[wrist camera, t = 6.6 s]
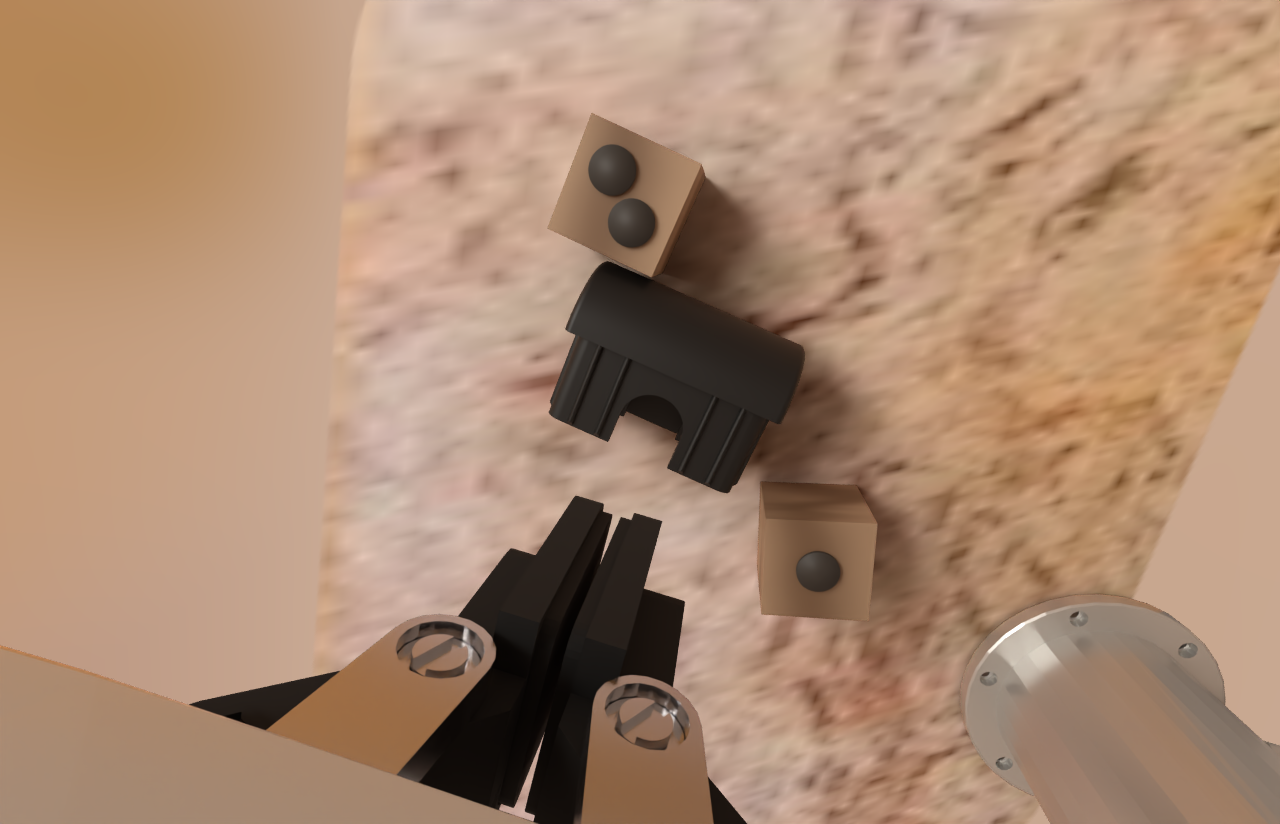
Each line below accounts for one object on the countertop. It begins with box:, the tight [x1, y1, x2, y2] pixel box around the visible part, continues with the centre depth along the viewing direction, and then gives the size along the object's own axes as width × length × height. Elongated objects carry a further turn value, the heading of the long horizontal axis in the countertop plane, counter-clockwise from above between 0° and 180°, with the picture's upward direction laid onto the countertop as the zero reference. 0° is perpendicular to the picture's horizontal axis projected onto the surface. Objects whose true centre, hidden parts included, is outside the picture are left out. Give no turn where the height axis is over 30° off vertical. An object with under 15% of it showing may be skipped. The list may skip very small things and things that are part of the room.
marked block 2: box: [757, 482, 878, 621], centre depth 32 cm, size 5×5×5 cm
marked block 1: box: [548, 113, 706, 277], centre depth 29 cm, size 5×5×5 cm
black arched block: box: [549, 261, 805, 493], centre depth 30 cm, size 10×7×7 cm
